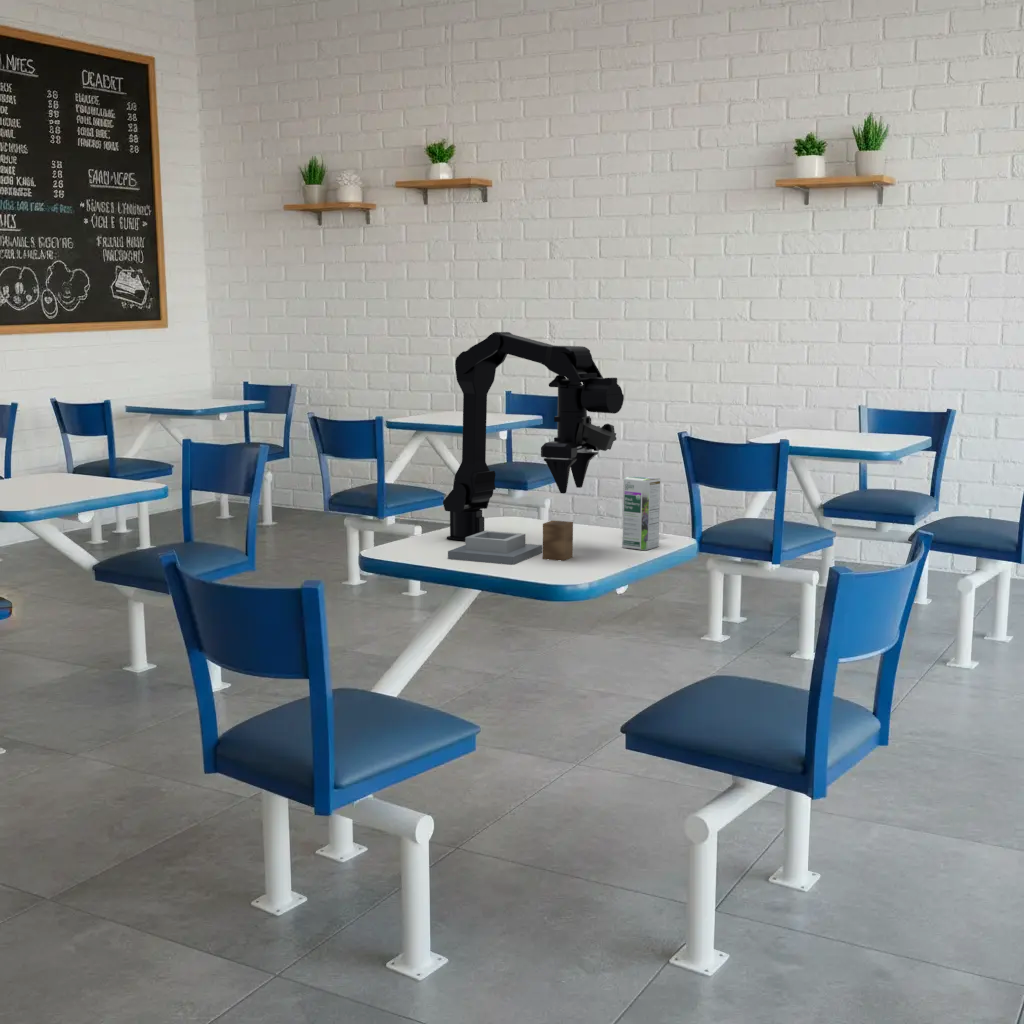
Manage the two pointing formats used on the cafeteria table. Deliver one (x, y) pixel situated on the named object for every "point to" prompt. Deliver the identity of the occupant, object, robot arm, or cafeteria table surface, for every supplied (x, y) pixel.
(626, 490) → the syrup box
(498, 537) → the socket block
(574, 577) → the cafeteria table surface
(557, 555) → the walnut peg
